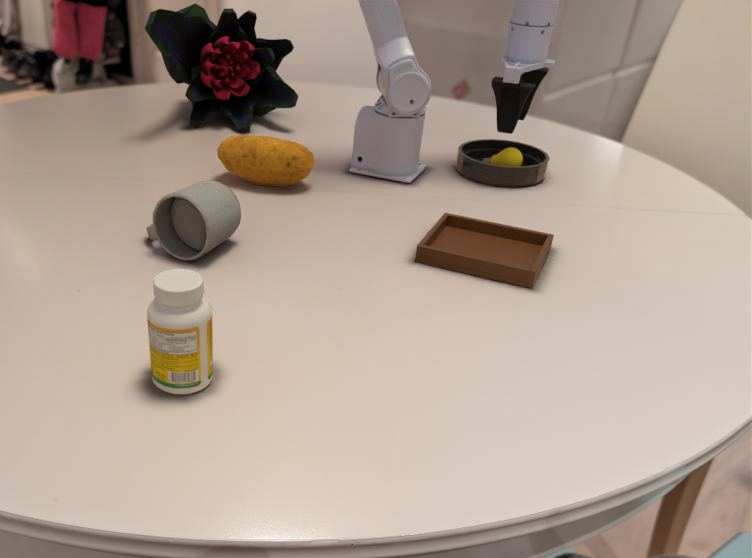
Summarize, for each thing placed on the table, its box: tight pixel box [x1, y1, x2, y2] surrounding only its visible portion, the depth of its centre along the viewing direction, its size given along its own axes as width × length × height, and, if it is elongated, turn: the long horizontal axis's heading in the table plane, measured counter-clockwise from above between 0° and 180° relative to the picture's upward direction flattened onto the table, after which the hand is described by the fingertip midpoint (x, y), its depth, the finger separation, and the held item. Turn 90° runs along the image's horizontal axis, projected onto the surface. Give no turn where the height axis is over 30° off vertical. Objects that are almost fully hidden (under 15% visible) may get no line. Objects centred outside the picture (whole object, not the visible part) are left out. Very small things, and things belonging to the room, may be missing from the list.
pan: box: [455, 138, 550, 188], centre depth 110 cm, size 13×13×3 cm
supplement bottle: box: [146, 268, 214, 395], centre depth 62 cm, size 5×5×10 cm
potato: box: [216, 134, 316, 187], centre depth 103 cm, size 8×14×7 cm, turn 65°
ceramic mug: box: [146, 180, 242, 262], centre depth 85 cm, size 11×8×8 cm
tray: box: [414, 212, 555, 289], centre depth 86 cm, size 13×11×2 cm
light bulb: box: [481, 147, 523, 167], centre depth 110 cm, size 3×6×4 cm, turn 71°
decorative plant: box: [144, 3, 299, 133], centre depth 123 cm, size 21×26×30 cm
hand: (511, 125), depth 107 cm, fingers open, 7 cm apart
